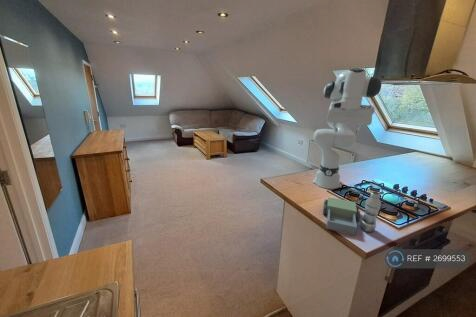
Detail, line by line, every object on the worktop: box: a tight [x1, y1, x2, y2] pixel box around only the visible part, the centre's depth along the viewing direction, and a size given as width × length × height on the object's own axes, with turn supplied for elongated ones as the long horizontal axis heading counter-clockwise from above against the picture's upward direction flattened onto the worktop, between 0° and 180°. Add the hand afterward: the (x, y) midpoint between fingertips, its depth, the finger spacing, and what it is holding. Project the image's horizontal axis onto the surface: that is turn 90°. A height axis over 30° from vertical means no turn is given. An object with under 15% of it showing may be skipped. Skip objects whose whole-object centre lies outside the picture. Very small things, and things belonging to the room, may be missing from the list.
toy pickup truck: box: [322, 197, 361, 236], centre depth 115 cm, size 23×17×6 cm
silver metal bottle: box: [360, 190, 382, 233], centre depth 105 cm, size 6×7×20 cm
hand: (345, 132), depth 112 cm, fingers open, 8 cm apart
